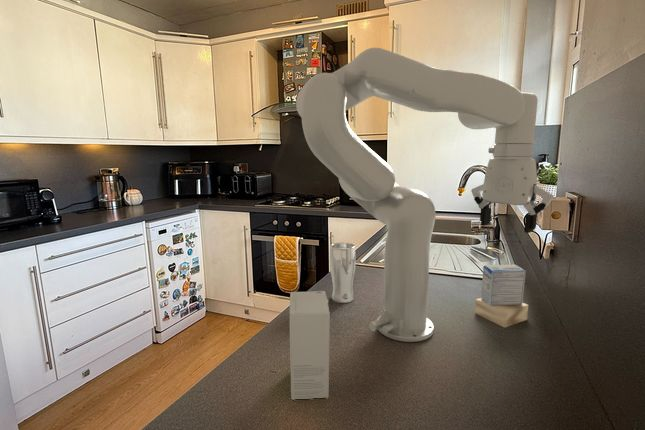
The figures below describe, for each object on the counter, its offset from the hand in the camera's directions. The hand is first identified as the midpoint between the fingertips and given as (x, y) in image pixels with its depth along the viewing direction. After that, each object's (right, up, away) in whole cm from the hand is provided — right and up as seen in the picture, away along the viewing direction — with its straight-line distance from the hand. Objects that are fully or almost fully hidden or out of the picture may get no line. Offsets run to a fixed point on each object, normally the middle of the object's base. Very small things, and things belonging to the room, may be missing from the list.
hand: (506, 228), depth 80 cm
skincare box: (-44, -27, -20) cm, 55 cm away
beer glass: (-37, -20, +15) cm, 44 cm away
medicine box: (0, -18, +3) cm, 18 cm away
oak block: (+1, -22, +4) cm, 22 cm away
